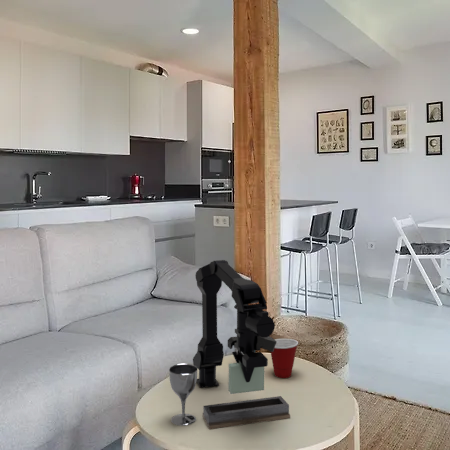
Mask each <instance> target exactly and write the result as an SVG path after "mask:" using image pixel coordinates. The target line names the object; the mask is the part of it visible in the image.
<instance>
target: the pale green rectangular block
mask: <svg viewBox="0 0 450 450" xmlns="http://www.w3.org/2000/svg"><path fill="white" fill-rule="evenodd" d="M227 389H228V392H229V394H230V395H234V394H242V393H252V392H253V393H254V392H259V391H260V392H261V391H265V367H256V368H254V370H253V373H252V377H251V380H250V382H246V381H245V378H244V375H243V372H242V369H241V366H240V363H236V362H233V363H232V362H231V363H228V388H227Z"/></svg>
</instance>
